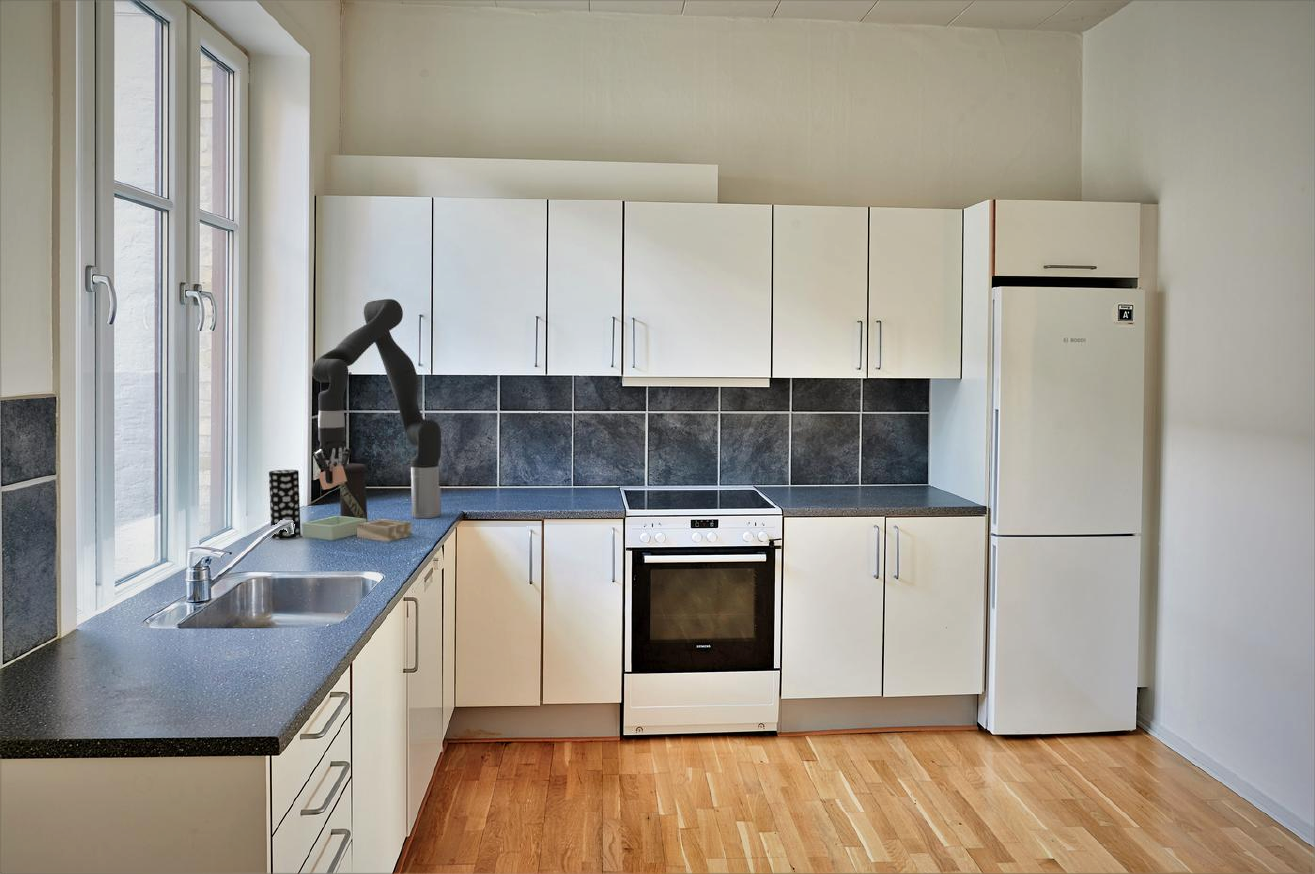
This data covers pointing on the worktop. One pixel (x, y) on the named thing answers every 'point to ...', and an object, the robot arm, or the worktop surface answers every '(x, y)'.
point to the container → (354, 492)
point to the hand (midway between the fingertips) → (333, 482)
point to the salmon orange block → (337, 477)
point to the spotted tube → (285, 500)
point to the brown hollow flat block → (384, 530)
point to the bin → (331, 527)
